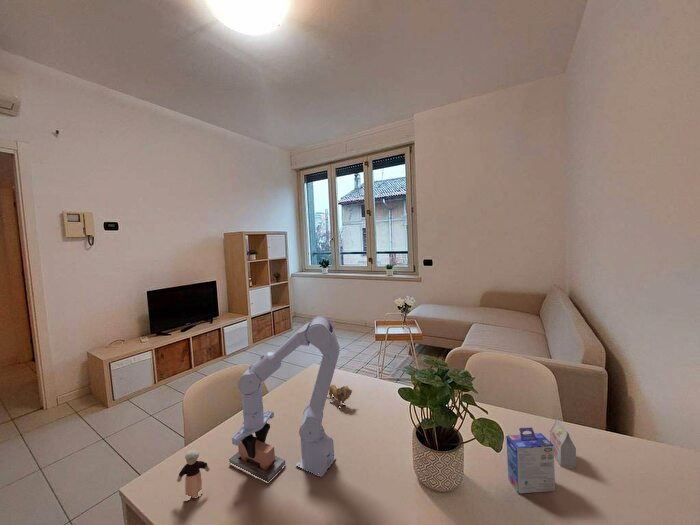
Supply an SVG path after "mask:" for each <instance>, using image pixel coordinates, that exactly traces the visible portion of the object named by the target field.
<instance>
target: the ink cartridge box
mask: <svg viewBox="0 0 700 525" xmlns="http://www.w3.org/2000/svg"><path fill="white" fill-rule="evenodd" d="M518 430H519V434H514V435H513V434H512V435H510V434H509V435H506V436H505V437H506V438H505V440H506V454H507V455H506V457H507V478H508V481H509V482H510V484H511V485H512V486H513V488H514V490H515V491H516V492H517V494H530V493H532V494H533V493H545V492H547V493H548V492H555V491H556V478H555V477H556V476H555V475H556V474H555V456H554V445H553V444H552V443H551V442H550V439H548V438H547V437H545V435H543V433H542V432H536V433H535V431H534V429H533V427H532V426H531V427H519V428H518ZM525 432H531V433H525Z"/></svg>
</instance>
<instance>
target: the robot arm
mask: <svg viewBox="0 0 700 525" xmlns="http://www.w3.org/2000/svg"><path fill="white" fill-rule="evenodd" d="M310 345H312V346H314V347H315V348H317V349H318V350H319V351H320V353H321V354H322V357H321V361H320V365H319V368H318V371H317V375H316V379H315V382H314V386H313V390H312V393H311V396H310V400H309V403H308V405H307V406H306V407H305V409H304V410H303V414H302V420H301V425H300V426H299V430H298V434H299V437H300V449H301V459H302V460H301V459H300V460H301V461H302V462H301V463H300V462H299V461H298V462H297V463H296V464H295V467H296V466H298V465H300V466H298V467H300V468H302V469H301V470H303V469H304V470H303V471H305V470H306V472H308V471H309V472H308V473H310V472H311V473H310V474H312V473H313V475H315V476H317V477H319V476H320V478H322V477H323V476H324V475H325V474H326V473H327V472H328V470H329V469H330V468H331V466H332V465H333V463H334V462H335V461H334V460H336V459H337V458H336V456H335V446H334V445H335V444H334V439H333V438H332V437H330V436H329V435H328V434H327V433H326V432H325V428H324V427H323V418H324V408H325V405H326V403H327V402H326V401H327V398H328V397H327V395H328V394H329V388H330V386H331V385H332V380H333V377H334V373H335V370H336V367H337V362H338V359H339V355H340V345H339V342H338V338H337V335H336V332H335V328H334V326H333V324H332V323H331V321H330V320H329V319H328V318H327V317H325V316H323V315H318V316H315V317H313V319H311V321H308V322H307V323H305V324H304V325H303V326H302V327H300V328H299V329H298V330H297V331H296V332H295V333H293V334H292V335H291V336H290V337H289V338H287V340H286V341H285V342H284V343H283V344H282V345H281V346H280V347H278V349H276V350H275V351H268V352H266V353H265V352H263V353H262V354H261V355H260V356H259V358H260V359H259V360H257V361H256V362H254V364H251V365H249V367H248V368H247V369H246V370H245V371H244V373H242V375H241V376H240V378H239V380H238V382H237V387H238V390H239V392H241V402H242V403H241V404H242V414H243V415H242V416H243V420H242V424H243V425H242V426H241V427H240V428H239V430H238V431H237V432H236V433H235V434H234V435H233V436H232V437H231V443H232V445H233V446H238V445H239V444H240V441H241V442H242V443H243V445H244V447H245V449H246V451H247V454H248V457H250V458H254V457H255V444H256V440H259V441H261V442H264V443H266V439H267V436H268V434H269V431H270V429H271V424H270V423H268V421H269V420H270V419H271V420H272V419H274V417H275V413H274V412H275V411H274V410H272V409H271V410H270V409H268V410H266V411H264V402H263V400H264V399H263V390H262V388H263V387H262V383H263V382H265V381H266V380H267V379H269V378H270V377H271V376H272V375H273V374H274V373H275V372H277V371H278V370H279V369H280V368H281V367H282V361H283V360H284V359H285V358H286V357H288V356H289V355H290V354H291V353H292V352H294V351H295V350H296V349H297V348H299V347H300V346H307V347H308V346H310ZM254 434H255V436H254ZM333 461H334V462H333ZM331 464H332V465H331ZM298 467H297V468H298ZM300 468H299V469H300ZM328 468H329V469H328ZM327 469H328V470H327ZM325 472H326V473H325ZM318 473H319V474H318ZM324 473H325V474H324Z"/></svg>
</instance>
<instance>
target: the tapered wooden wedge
mask: <svg viewBox="0 0 700 525" xmlns="http://www.w3.org/2000/svg"><path fill="white" fill-rule="evenodd" d="M237 449H238V452H239V454H240V455H241V460H242V461H244V462H247V461H248V460H249V459H252V460H254V461H256V462H258V463H260V469H261V470H264V471H266V470H267V469H268V468H269V467H270V466H271V465H272V464H273V461H274V460H275V456H276V455H275V454H276V453H275V445H274V446H273V445H271V444H268V443H266V442H265V443H264V442H261V441H259V440H256V444H255V457H254V458H250V457H248V454H247V451H246V449H245V447H244V445H243V443H242V442H241V441H240V444H239V445H238V447H237Z"/></svg>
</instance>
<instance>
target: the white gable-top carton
mask: <svg viewBox="0 0 700 525" xmlns="http://www.w3.org/2000/svg"><path fill="white" fill-rule="evenodd" d="M549 436H550V437H549V441H550V442H551V443H552V444H553V445H554V459H555V460H556V461H557V463H558V464H559V466H560V467H561V468H562V467H563V468H569V469H577V454H576V453H577V448H576V445H575V444H574V442H573V441H572V439H571V436H570V433H569V432H568V430H566V428H565V426H564V425H563V424H562V423H561V422H560V420H559V419H558V418H556V419H555V421H554V423H553V425H552V428H551V429H550V431H549Z"/></svg>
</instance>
